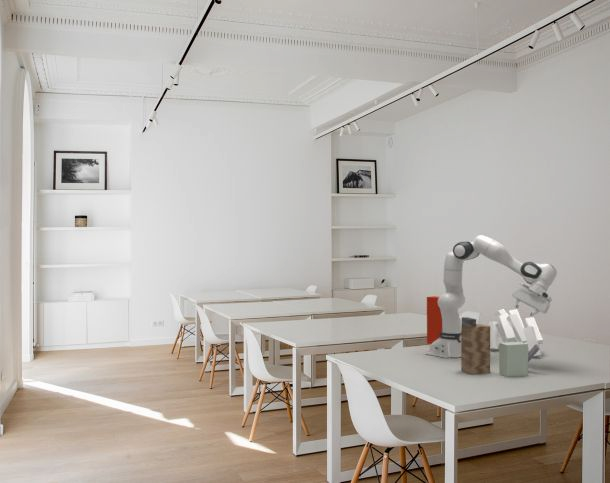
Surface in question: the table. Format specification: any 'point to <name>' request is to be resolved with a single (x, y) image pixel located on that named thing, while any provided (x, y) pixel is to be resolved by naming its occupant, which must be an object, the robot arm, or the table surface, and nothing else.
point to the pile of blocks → (514, 330)
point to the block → (513, 359)
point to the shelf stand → (475, 347)
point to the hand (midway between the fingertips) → (523, 312)
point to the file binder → (433, 319)
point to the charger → (533, 352)
